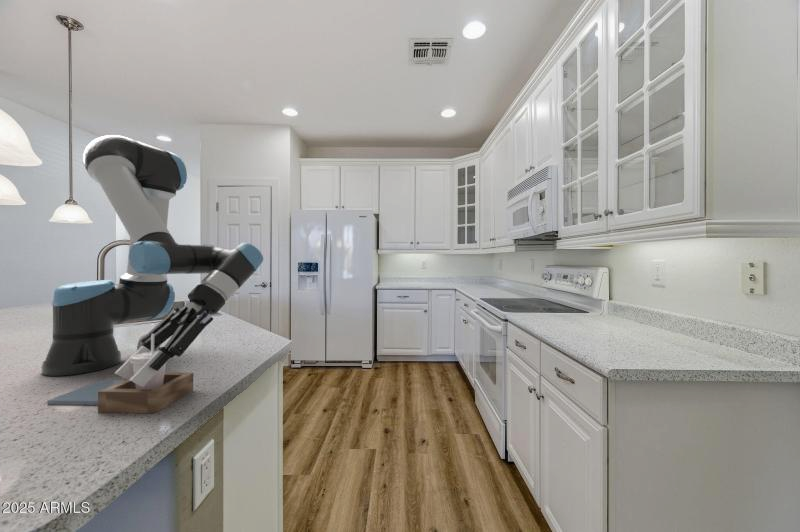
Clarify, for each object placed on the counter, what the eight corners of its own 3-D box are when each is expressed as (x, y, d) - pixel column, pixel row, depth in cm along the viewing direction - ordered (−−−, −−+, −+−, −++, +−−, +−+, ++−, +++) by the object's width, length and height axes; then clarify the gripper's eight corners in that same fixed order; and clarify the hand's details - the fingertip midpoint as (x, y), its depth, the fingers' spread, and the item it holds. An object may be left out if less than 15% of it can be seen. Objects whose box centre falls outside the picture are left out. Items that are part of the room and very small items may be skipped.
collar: (144, 389, 70) (145, 371, 70) (193, 390, 70) (193, 372, 70) (97, 412, 59) (98, 391, 59) (155, 413, 59) (155, 392, 59)
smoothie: (146, 408, 61) (147, 338, 61) (120, 405, 62) (122, 336, 62) (176, 395, 67) (177, 331, 67) (152, 392, 69) (153, 329, 69)
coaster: (100, 383, 73) (100, 380, 73) (146, 384, 73) (146, 380, 73) (47, 404, 62) (47, 400, 62) (102, 405, 62) (102, 401, 62)
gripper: (247, 305, 73) (167, 399, 59) (202, 300, 83) (124, 379, 69) (225, 284, 69) (133, 380, 55) (181, 281, 78) (92, 362, 64)
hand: (128, 379), depth 62 cm, fingers closed on smoothie, 6 cm apart
